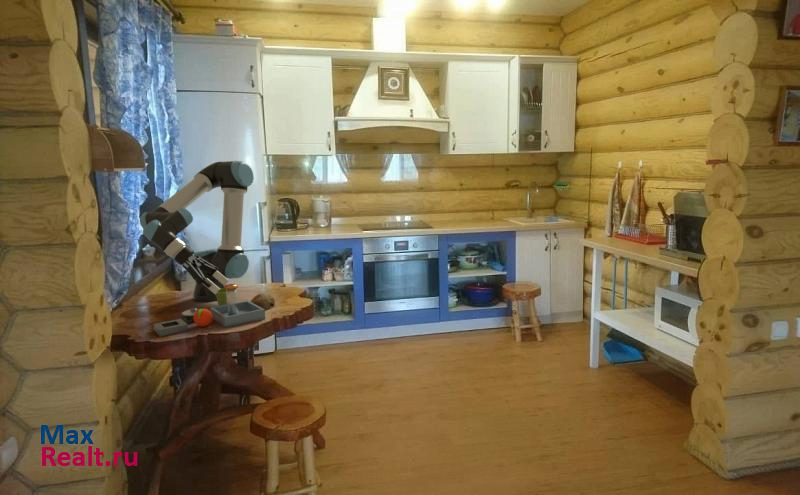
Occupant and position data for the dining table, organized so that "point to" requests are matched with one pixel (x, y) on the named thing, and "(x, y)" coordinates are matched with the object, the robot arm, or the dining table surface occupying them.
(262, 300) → the bread roll
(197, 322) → the red tomato
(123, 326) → the dining table surface
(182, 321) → the tensioner
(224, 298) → the plant pot
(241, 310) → the tray
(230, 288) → the lock pin
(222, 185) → the robot arm
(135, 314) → the dining table surface
